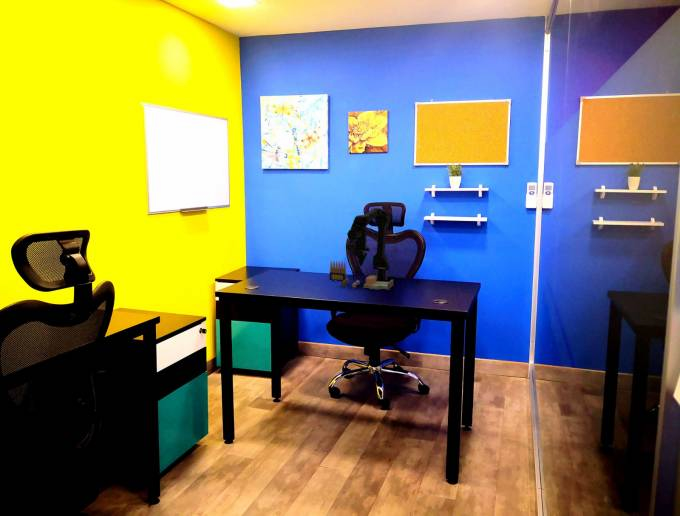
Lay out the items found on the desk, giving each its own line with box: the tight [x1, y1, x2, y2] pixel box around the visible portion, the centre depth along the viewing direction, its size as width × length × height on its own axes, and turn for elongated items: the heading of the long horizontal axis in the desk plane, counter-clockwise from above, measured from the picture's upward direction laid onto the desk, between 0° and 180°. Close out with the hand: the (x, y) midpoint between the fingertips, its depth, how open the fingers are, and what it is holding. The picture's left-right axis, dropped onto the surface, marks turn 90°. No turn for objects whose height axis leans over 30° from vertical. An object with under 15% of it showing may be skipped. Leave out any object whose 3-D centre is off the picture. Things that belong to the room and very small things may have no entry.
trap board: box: [341, 277, 394, 291], centre depth 308 cm, size 13×27×4 cm, turn 75°
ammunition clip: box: [328, 260, 347, 282], centre depth 324 cm, size 11×2×12 cm, turn 63°
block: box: [365, 275, 377, 285], centre depth 308 cm, size 10×4×4 cm, turn 165°
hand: (360, 265), depth 308 cm, fingers closed
